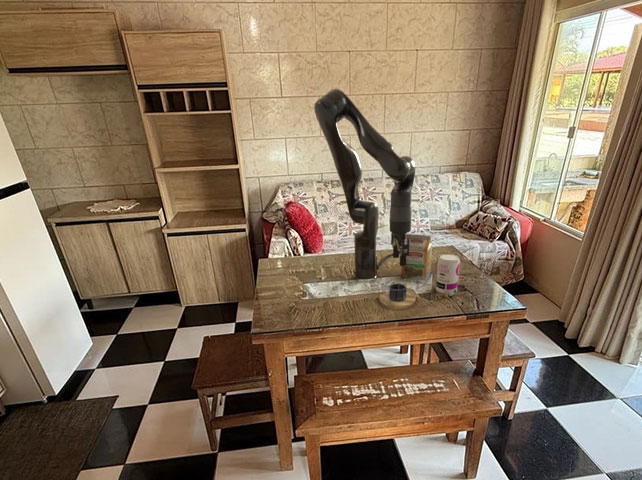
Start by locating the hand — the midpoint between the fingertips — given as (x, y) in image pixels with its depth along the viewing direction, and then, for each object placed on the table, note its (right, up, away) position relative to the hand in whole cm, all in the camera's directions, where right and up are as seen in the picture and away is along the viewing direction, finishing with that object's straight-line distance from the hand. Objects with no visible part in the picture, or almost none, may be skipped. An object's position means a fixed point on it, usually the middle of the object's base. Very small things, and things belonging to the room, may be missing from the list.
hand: (399, 261), depth 151 cm
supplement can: (+21, -11, +13) cm, 27 cm away
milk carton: (+11, -2, +28) cm, 31 cm away
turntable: (0, -15, +7) cm, 16 cm away
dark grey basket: (0, -13, +7) cm, 15 cm away
